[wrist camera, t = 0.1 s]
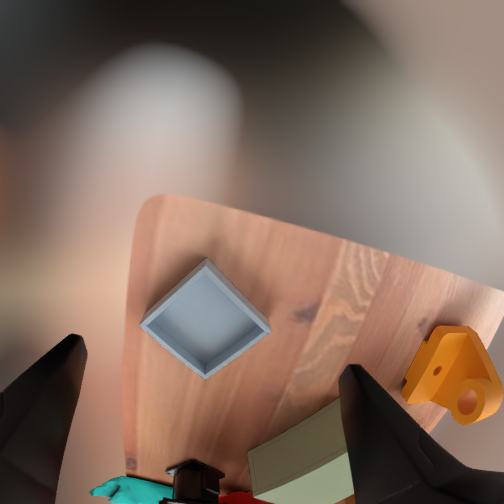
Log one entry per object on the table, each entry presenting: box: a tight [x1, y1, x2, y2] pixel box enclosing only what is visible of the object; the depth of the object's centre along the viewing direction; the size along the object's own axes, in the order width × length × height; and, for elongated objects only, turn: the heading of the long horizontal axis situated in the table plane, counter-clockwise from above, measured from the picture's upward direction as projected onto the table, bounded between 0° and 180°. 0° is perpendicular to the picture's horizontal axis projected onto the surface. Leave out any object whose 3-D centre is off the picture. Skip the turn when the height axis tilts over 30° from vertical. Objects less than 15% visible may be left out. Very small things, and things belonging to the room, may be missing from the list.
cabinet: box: [247, 397, 354, 504], centre depth 29 cm, size 14×15×8 cm
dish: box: [139, 258, 272, 380], centre depth 24 cm, size 8×8×2 cm
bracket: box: [401, 326, 503, 425], centre depth 25 cm, size 11×7×12 cm, turn 168°
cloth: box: [89, 476, 173, 504], centre depth 33 cm, size 26×14×2 cm, turn 92°
